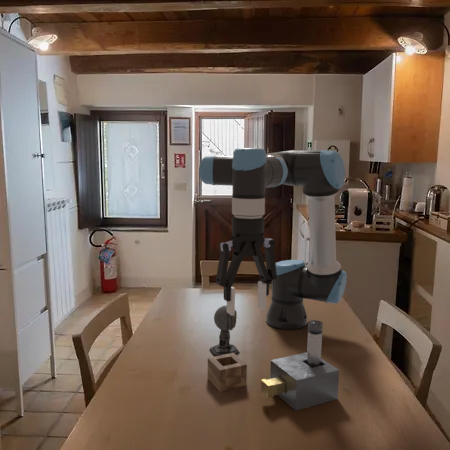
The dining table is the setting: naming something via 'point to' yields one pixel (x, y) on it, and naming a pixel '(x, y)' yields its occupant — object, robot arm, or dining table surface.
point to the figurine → (224, 332)
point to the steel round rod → (314, 343)
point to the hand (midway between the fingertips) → (246, 311)
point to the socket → (305, 381)
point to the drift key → (273, 386)
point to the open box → (227, 371)
